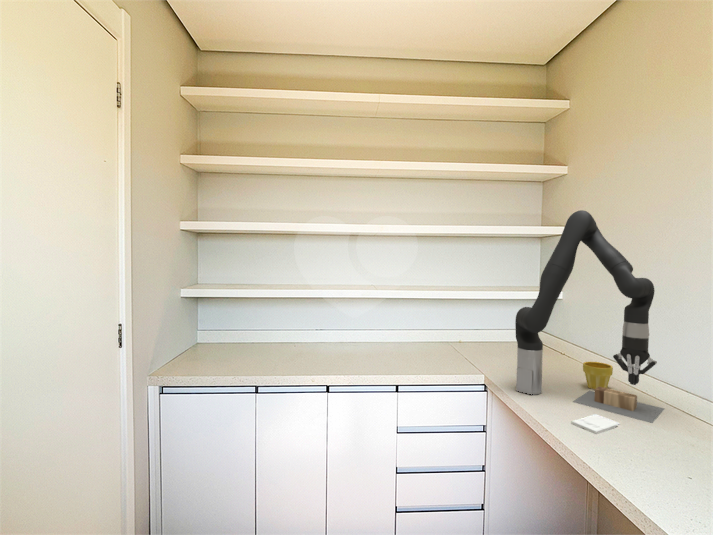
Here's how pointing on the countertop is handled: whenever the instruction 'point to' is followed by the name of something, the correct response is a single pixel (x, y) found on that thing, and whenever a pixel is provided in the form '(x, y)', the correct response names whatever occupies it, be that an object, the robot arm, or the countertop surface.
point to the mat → (640, 413)
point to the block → (616, 398)
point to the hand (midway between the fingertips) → (633, 384)
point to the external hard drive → (595, 423)
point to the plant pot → (597, 374)
